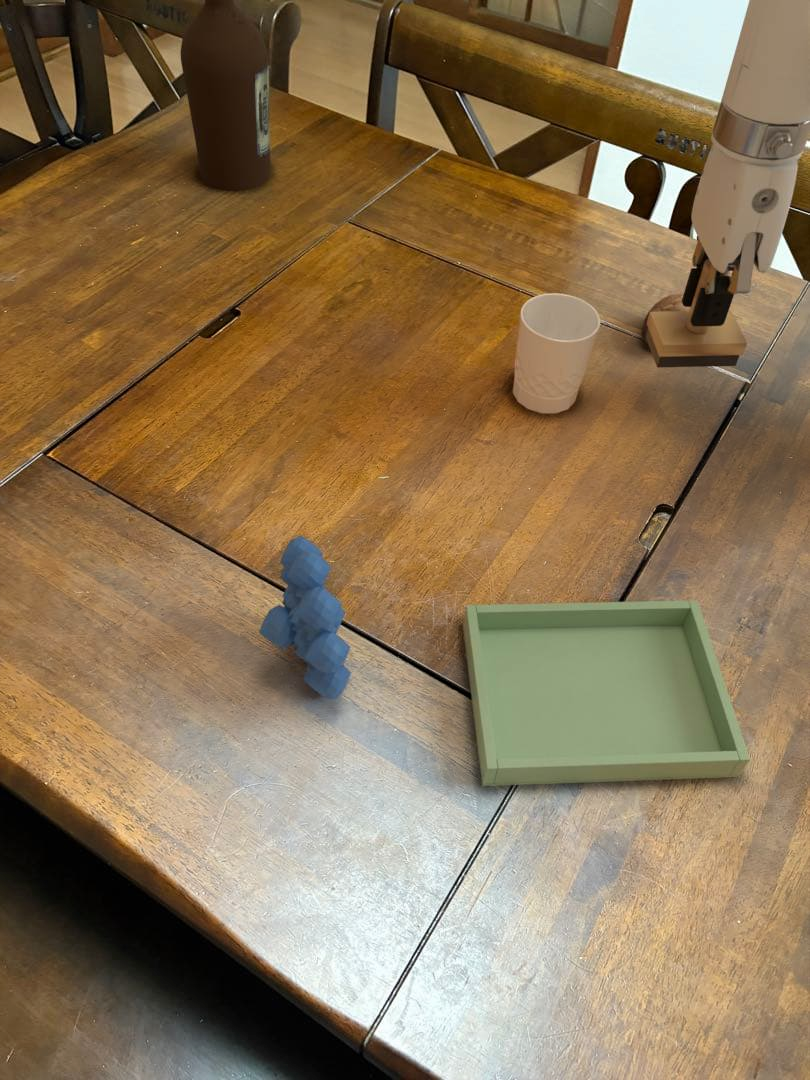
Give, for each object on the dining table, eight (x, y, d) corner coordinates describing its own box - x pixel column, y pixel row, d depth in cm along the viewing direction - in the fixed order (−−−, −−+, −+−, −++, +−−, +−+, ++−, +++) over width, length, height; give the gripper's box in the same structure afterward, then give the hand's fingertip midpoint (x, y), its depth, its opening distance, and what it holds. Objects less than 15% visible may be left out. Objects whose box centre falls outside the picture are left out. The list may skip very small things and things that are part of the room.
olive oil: (191, 194, 120) (162, -18, 101) (201, 154, 127) (175, -51, 108) (272, 196, 121) (259, -13, 102) (278, 157, 127) (266, -46, 108)
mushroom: (738, 332, 101) (717, 284, 98) (683, 376, 100) (661, 329, 97) (693, 323, 108) (672, 278, 105) (641, 364, 107) (619, 320, 104)
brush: (722, 334, 95) (752, 247, 87) (738, 367, 91) (771, 280, 83) (643, 335, 94) (666, 249, 86) (655, 369, 91) (680, 281, 83)
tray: (687, 621, 79) (697, 599, 77) (736, 778, 70) (750, 759, 67) (462, 626, 77) (465, 604, 75) (482, 787, 68) (486, 768, 66)
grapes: (249, 616, 77) (235, 522, 68) (326, 598, 79) (324, 504, 69) (281, 735, 70) (271, 648, 61) (365, 713, 72) (368, 625, 62)
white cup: (530, 361, 101) (545, 283, 93) (593, 390, 98) (614, 313, 91) (493, 398, 97) (505, 320, 89) (558, 430, 94) (576, 352, 86)
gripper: (842, 175, 70) (765, 366, 84) (774, 84, 81) (716, 267, 95) (747, 176, 70) (685, 367, 84) (691, 84, 80) (644, 268, 94)
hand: (702, 313), depth 89 cm, fingers closed on brush, 2 cm apart
